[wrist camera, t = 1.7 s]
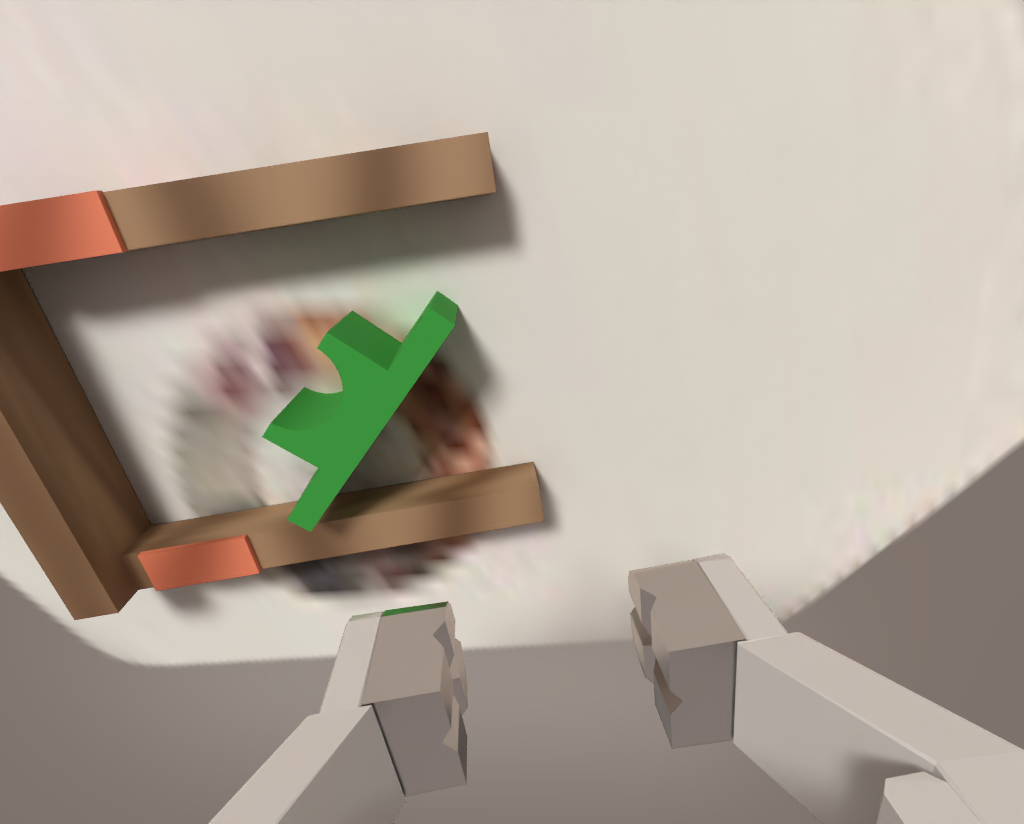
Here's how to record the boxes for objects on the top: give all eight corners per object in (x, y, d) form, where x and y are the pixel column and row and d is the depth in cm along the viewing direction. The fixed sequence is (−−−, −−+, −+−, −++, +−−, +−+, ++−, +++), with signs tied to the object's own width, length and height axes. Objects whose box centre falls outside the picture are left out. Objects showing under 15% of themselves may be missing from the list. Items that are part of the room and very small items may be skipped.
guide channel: (485, 139, 20) (488, 123, 17) (538, 495, 27) (548, 540, 23) (-56, 223, 20) (-174, 227, 16) (129, 563, 27) (75, 620, 23)
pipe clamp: (387, 254, 22) (368, 263, 18) (458, 304, 23) (456, 324, 19) (268, 444, 25) (227, 492, 21) (335, 481, 26) (310, 534, 22)
